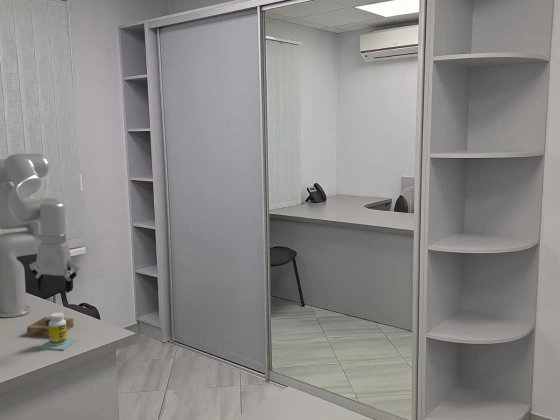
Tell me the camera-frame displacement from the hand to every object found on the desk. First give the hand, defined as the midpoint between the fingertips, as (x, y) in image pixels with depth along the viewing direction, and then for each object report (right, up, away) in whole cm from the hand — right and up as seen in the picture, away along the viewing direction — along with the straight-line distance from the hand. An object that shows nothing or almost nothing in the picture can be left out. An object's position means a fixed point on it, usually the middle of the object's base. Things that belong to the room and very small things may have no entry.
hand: (55, 290), depth 181 cm
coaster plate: (0, -18, +2) cm, 19 cm away
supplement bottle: (0, -18, +2) cm, 18 cm away
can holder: (-7, -17, +14) cm, 23 cm away
